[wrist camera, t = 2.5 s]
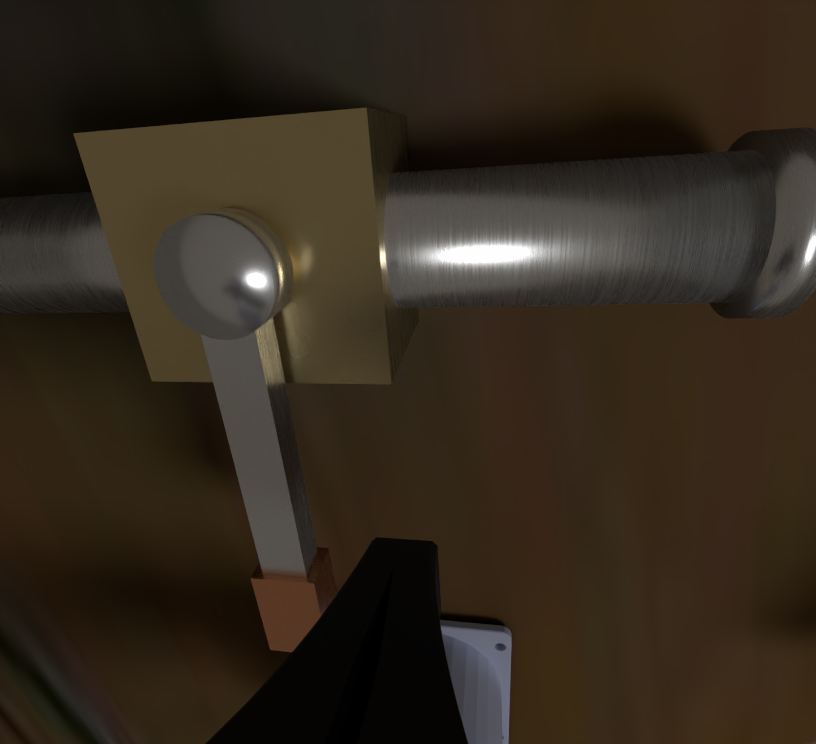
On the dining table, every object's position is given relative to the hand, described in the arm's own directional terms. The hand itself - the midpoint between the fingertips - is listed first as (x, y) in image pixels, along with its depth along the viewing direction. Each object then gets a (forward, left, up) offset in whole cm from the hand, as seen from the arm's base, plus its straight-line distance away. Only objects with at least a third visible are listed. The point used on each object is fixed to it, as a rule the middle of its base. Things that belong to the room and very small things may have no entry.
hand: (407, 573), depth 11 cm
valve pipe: (+6, +4, -9) cm, 11 cm away
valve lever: (+1, +4, -4) cm, 6 cm away
